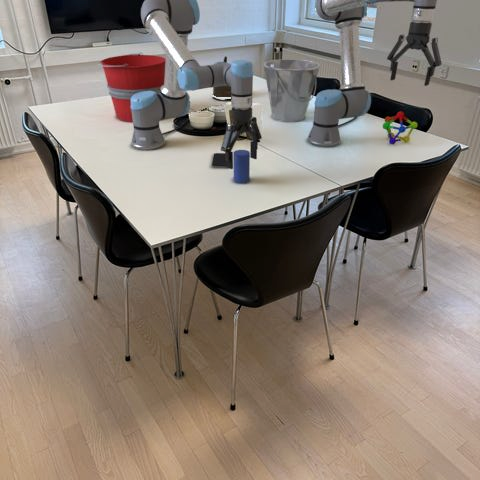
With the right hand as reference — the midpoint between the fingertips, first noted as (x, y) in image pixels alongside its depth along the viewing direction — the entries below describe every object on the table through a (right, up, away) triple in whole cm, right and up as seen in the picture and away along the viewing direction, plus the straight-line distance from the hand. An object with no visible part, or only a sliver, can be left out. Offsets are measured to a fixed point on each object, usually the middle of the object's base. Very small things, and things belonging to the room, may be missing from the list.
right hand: (409, 82), depth 171 cm
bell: (-74, +30, +110) cm, 136 cm away
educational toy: (+9, -15, +39) cm, 43 cm away
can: (-65, -38, +2) cm, 75 cm away
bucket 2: (-39, +7, +74) cm, 84 cm away
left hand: (-65, -32, -2) cm, 72 cm away
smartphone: (-74, -27, +19) cm, 81 cm away
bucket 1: (-122, +9, +76) cm, 144 cm away
